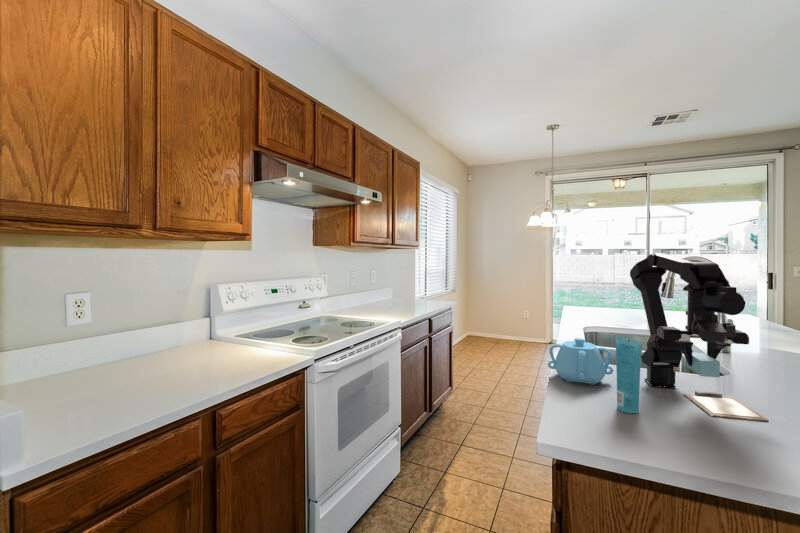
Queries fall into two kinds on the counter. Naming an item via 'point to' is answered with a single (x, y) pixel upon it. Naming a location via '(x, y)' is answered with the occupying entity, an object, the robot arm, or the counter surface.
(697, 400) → the clipboard
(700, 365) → the light blue block
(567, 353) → the decorative pot
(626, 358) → the tube
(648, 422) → the counter surface
